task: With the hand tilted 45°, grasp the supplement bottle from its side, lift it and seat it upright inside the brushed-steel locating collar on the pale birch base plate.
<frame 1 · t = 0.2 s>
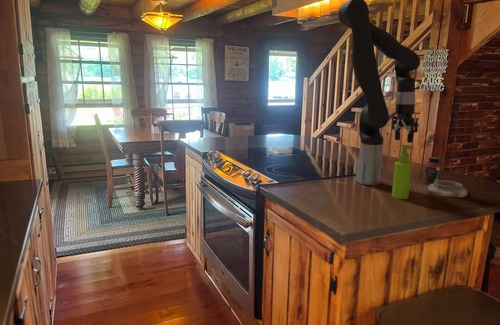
hand: (403, 141, 158), 18 cm above the worktop, tool pointing down, fingers open, 8 cm apart
supplement bottle: (431, 183, 160), on the worktop
soap dispenser: (400, 197, 141), on the worktop
collar plate: (446, 192, 148), on the worktop
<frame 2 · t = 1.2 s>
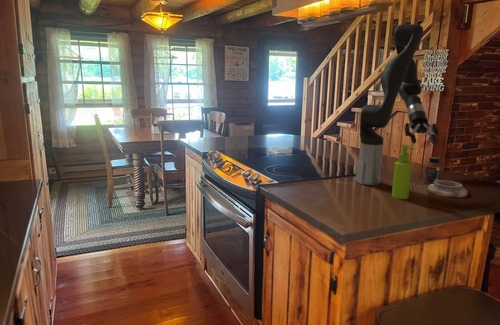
hand: (424, 142, 168), 16 cm above the worktop, tool tilted 45°, fingers open, 8 cm apart
nothing on the worktop moved.
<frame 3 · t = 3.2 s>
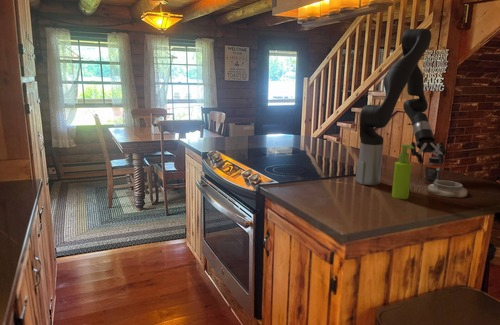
hand: (431, 163, 161), 8 cm above the worktop, tool tilted 45°, fingers open, 8 cm apart
nothing on the worktop moved.
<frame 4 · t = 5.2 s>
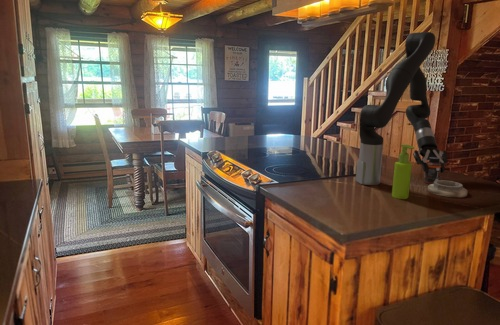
hand: (434, 171, 158), 6 cm above the worktop, tool tilted 45°, fingers closed on supplement bottle, 6 cm apart
supplement bottle: (431, 183, 160), on the worktop, touching gripper
everything else where it was.
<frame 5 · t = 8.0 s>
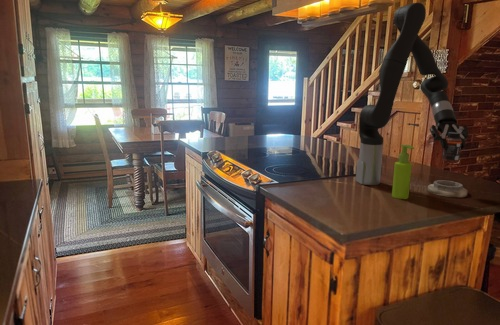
hand: (454, 148, 142), 18 cm above the worktop, tool tilted 45°, fingers closed on supplement bottle, 6 cm apart
supplement bottle: (450, 161, 145), point 12 cm above the worktop, touching gripper
everything else where it was.
when the fingers open (8 cm above the worktop, at t = 11.2 s): supplement bottle stays where it is, resting on collar plate.
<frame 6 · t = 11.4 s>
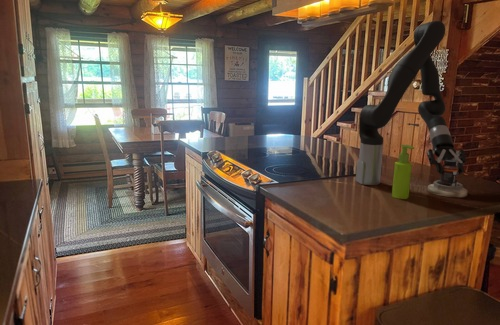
hand: (451, 172, 144), 8 cm above the worktop, tool tilted 45°, fingers open, 7 cm apart
supplement bottle: (447, 188, 147), point 1 cm above the worktop, touching collar plate
everything else where it was.
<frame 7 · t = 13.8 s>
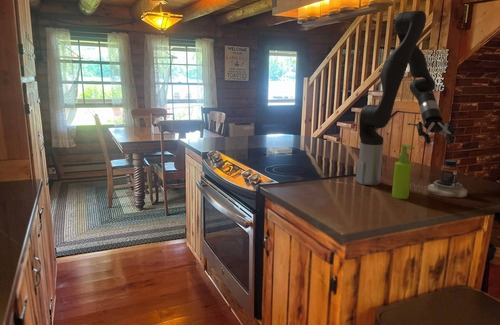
hand: (439, 143, 154), 18 cm above the worktop, tool tilted 45°, fingers open, 8 cm apart
nothing on the worktop moved.
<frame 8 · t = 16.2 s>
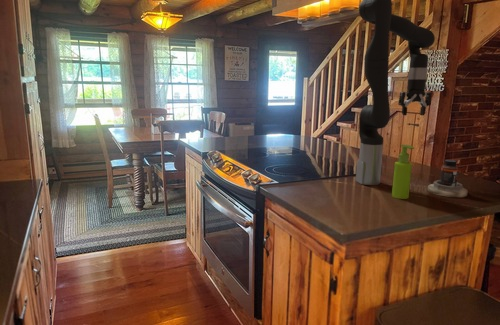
hand: (413, 115, 168), 28 cm above the worktop, tool pointing down, fingers open, 8 cm apart
nothing on the worktop moved.
at the end: supplement bottle 0.2 cm off-centre on the collar plate, point 1.3 cm above the collar plate's base; supplement bottle tilted 0°; the gripper is holding nothing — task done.
